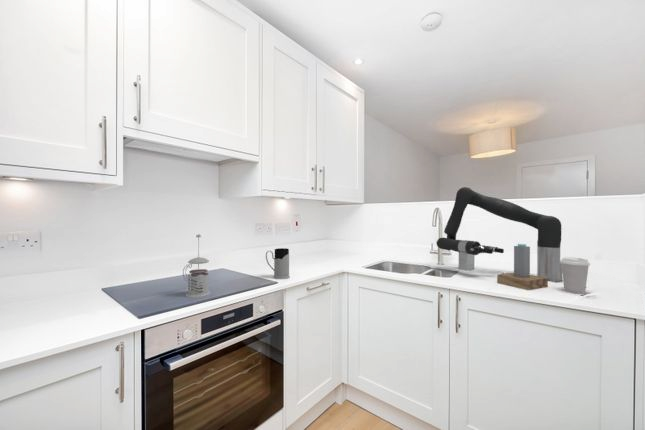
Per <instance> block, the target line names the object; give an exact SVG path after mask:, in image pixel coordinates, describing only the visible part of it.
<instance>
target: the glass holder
mask: <svg viewBox="0 0 645 430" xmlns="http://www.w3.org/2000/svg"><path fill="white" fill-rule="evenodd" d="M269 252H270V253H271V257H272V260H274V261H273V262H274V263H273V264H274V265H273V267H272V266H271V264H270V262H269V260H268V253H269ZM265 260H266V262H267V266H269V267H270V268H271V270H273V279H275V280H286V279H287V280H288V279H290V277H291V276H290V249H289V248H285V247H283V248H275V249H274V252H273V251H271V250H267V251H266V252H265Z"/></svg>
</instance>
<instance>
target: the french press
mask: <svg viewBox="0 0 645 430" xmlns="http://www.w3.org/2000/svg"><path fill="white" fill-rule="evenodd" d="M196 238H198V239H197V240H198V249H197V251H198V253H197V255H198V257H197V256H196V257H194V258H192V259H190V260H188V261H187V263H188V264H186V265H185V266H184V268H183V269H182V277H183V279H184V281H185V282H187V287H188V288H187V289H188V290H187V293H186V294H185V297H187V298H201V297H206V295H207V296H209V295H210V293H212V292H211V291H210V290H209V272H208V269H205V268H204V269H200V265H201V264H207V263H209V262H210V260H208V259H207V258H205V257H200V238H202V235H201V234H197V235H196ZM190 265H191V266H190ZM193 265H198V268H196V269H192V267H193ZM188 268H190V269H192V270H189V271H188V272H189V274H188V275H187V274H185V275H184V271H185V270H187V269H188ZM185 277H186V278H185Z"/></svg>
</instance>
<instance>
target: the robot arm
mask: <svg viewBox="0 0 645 430" xmlns="http://www.w3.org/2000/svg"><path fill="white" fill-rule="evenodd" d="M468 205H471V206H475V207H478V208H480V209H483V210H484V211H486V212H488V213H491V214H492V215H495V216H498V217H500V218H503V219H506V220H509V221H513V222H518V223H521V224H525V225H527V226H530V227H532V228H534V229H535V230H537V241H536V244H537V245H536V246H537V247H536V253H537V255H536V257H537V258H536V259H537V260H536V261H537V262H536V265H537V266H536V267H537V268H536V272H537V273H536V276H539V277H545V278H548V282H550V283H559V282H560V281H562V282H563V273H562V264H561V263H560V261H561V243H562V223H561V222H562V221H561V220H560V219H559V218H558V217H556V216H553V215H546V214H542V213H538V212H534V211H531V210H529V209H527V208H525V207H523V206H520V205H518V204H515V203H514V202H510V201H508V200H504V199H500V198H497V197H492V196H487V195H485V194H484V195H483V194H481V193H480V192H479V193H478V192H477V191H474V190H472V189H471V188H470V187H466V186H465V187H464V186H463V187H461V188H459V189H458V190H457V192H456V196H455V200H454V204H453V208H452V210H451V213H450V216H449V218H448V220H447V223H446V225H445V227H444V230H443V231H444V234H445V235H446V237H439V238H438V239H437V240H436V243H435V244H436V246H437V248H439V250H440V249H441V250H445V251H453V252H456V253H459V252H462V253H465V254H471V255H475V256H478V255H479V254H490V255H492V254H493V253H499V254H504V253H505V251H504V248H501V247H500V248H499V247H497V246H492V245H485V244H484V245H483V244H481V243H480V242H479V241H478V240H477V241H475V240H468V239H467V240H466V239H465V240H462V239H457V233H458V231H459V229H460V226H461V224H462V219H463V216H464V213H465V211H466V208H467V206H468Z"/></svg>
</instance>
